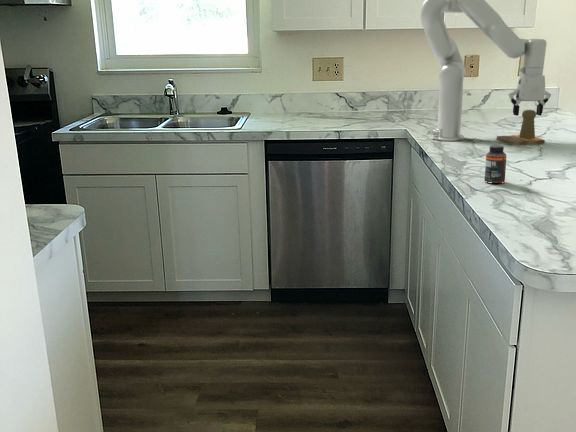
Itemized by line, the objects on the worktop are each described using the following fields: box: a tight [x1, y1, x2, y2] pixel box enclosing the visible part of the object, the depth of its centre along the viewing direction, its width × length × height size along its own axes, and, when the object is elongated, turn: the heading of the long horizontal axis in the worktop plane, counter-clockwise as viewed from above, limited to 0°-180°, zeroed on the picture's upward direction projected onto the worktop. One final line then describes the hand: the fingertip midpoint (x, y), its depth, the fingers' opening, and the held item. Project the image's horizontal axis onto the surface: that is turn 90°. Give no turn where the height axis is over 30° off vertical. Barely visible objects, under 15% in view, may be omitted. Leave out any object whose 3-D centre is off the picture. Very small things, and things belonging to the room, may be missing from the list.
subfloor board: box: [496, 134, 546, 146], centre depth 253 cm, size 14×13×2 cm
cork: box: [518, 109, 537, 139], centre depth 252 cm, size 6×6×11 cm
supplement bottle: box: [484, 144, 507, 184], centre depth 190 cm, size 6×6×11 cm
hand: (527, 115), depth 251 cm, fingers open, 9 cm apart
